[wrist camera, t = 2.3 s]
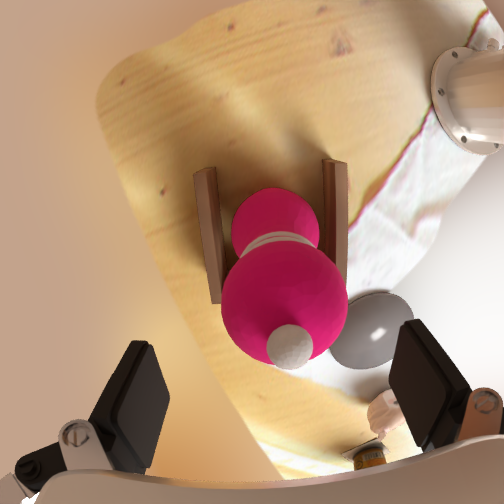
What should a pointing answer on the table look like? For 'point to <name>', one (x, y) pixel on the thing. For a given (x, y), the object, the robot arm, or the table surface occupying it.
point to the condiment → (367, 455)
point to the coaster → (371, 331)
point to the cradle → (213, 233)
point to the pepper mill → (281, 282)
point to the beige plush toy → (384, 414)
